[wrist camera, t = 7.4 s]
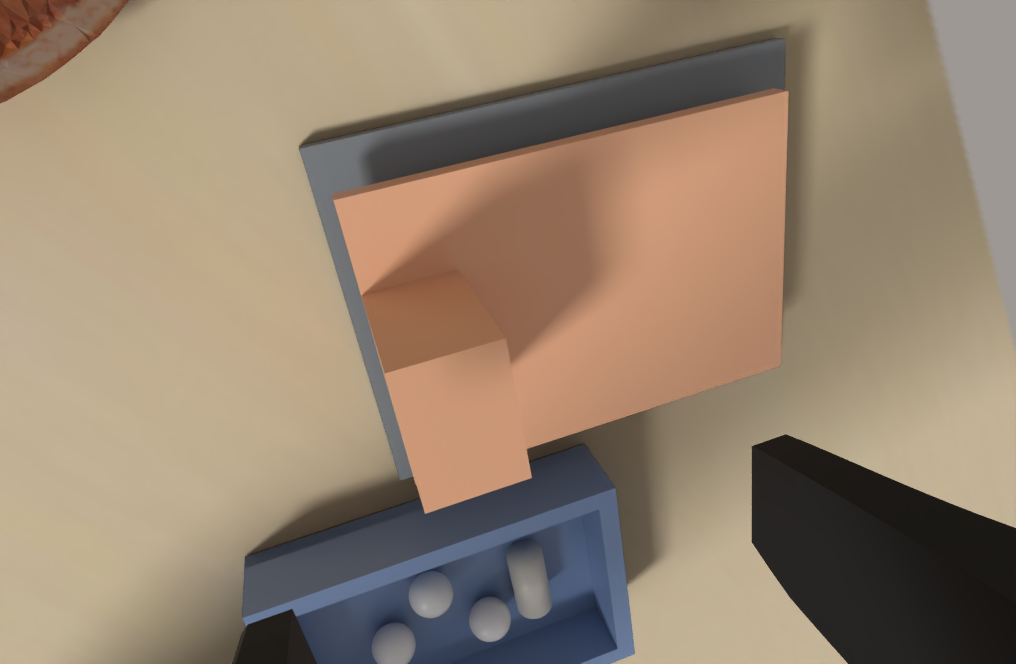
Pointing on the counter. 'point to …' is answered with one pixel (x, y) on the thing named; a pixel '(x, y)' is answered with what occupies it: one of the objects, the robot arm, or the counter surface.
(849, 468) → the robot arm
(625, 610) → the blue box
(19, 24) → the fruit slice
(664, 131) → the lid
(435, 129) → the mat
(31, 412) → the counter surface
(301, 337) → the counter surface
